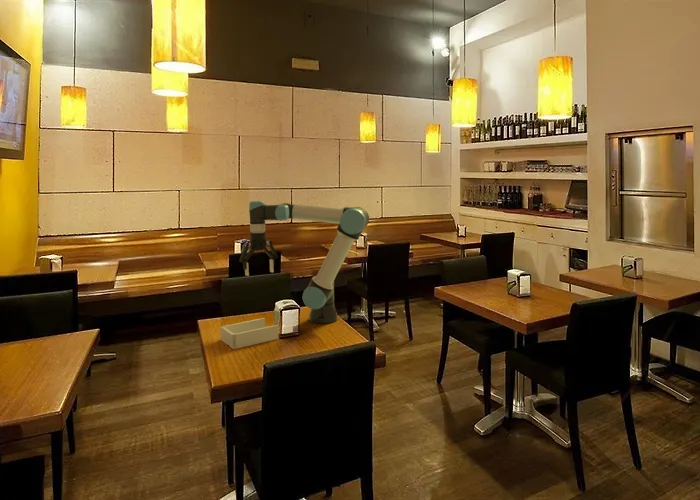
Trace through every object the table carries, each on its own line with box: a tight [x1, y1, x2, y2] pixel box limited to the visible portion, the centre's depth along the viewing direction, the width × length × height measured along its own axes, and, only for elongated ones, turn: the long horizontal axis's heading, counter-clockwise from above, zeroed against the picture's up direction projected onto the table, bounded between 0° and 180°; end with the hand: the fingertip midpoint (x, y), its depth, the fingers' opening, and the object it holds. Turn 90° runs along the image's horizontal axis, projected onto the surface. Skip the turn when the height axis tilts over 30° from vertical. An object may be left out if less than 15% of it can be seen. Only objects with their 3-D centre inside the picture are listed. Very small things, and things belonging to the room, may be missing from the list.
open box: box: [219, 317, 279, 350], centre depth 217 cm, size 22×15×6 cm
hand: (259, 273), depth 235 cm, fingers open, 13 cm apart
